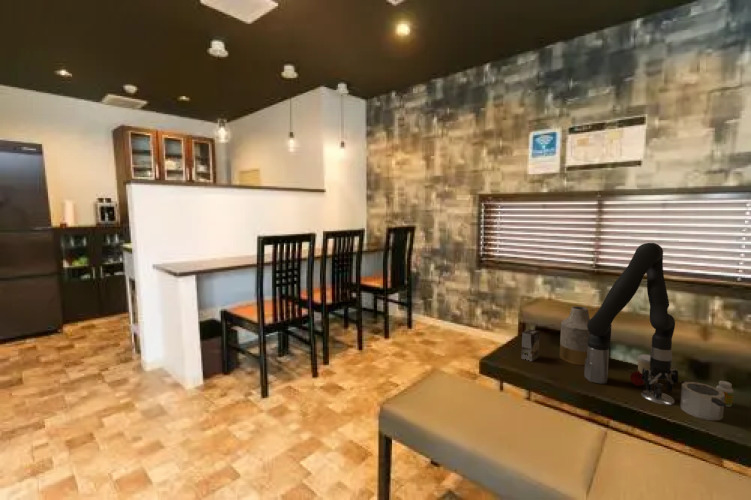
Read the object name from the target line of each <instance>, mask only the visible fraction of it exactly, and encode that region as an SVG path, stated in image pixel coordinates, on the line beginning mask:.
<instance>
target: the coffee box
mask: <svg viewBox="0 0 751 500" xmlns="http://www.w3.org/2000/svg"><path fill="white" fill-rule="evenodd" d="M521 333H522V336H521V337H522V338H521V358H520V359H521V360H525V359H526V360H525V361H528V360H529V362H533V361H535V360H537V359H538V358H539V352H540V351H539V348H540V345H539V344H540V331H539V330H536V329H531V328H529V329H526V330H524V331H523V332H521Z"/></svg>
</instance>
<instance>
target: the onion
mask: <svg viewBox="0 0 751 500" xmlns="http://www.w3.org/2000/svg"><path fill="white" fill-rule="evenodd" d="M629 377H630V381H631V383H633V384H634V385H635V386H636V387H639V386H642V385H644V384H645V382H644V381H642V374H641V373H640V372H639V370H638V369H637V370H635V371H633V372H632V373H631V374H630V376H629Z"/></svg>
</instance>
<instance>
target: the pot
mask: <svg viewBox="0 0 751 500" xmlns="http://www.w3.org/2000/svg"><path fill="white" fill-rule="evenodd" d="M680 389H681V390H680V391H681V392H680V402H679V405H680V409H681V410H682V411H684V412H685V413H686V414H687V415H691V416H693V417H695V418H698V419H702V420H706V421H711V422H712V421H713V422H714V421H715V422H716V421H717V422H718V421H721V420H722V419H724V407H727V406H726V403H724V400H725V395H724V393H723V392H722V391H720V390H719V389H717V388H716V387H714V386H711V385H708V384H705V383H702V382H696V381H689V380H681V388H680Z"/></svg>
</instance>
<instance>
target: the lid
mask: <svg viewBox="0 0 751 500" xmlns="http://www.w3.org/2000/svg"><path fill="white" fill-rule="evenodd" d="M652 386H654V388H653V389H652V392H649V391H648V390H647V389H645V390H642V391H641V392H640V394H641V396H642V398H644V399H645V400H647V401H650V402H652V403H655V404H659V405H663V404H664V405H666V406H667V405H668V406H670V405H674V404H675V403H676V402H675V399H674V398H673V397H672V396H671V395H668V394H666V393H664V392H663V388H664V386H665V385H664V384H663V383H660V382H658V383H657V382H654V383H653V384H652Z"/></svg>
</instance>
